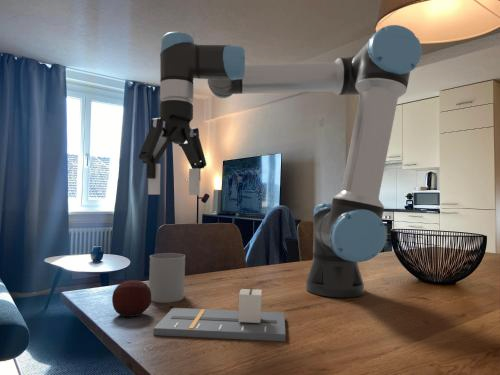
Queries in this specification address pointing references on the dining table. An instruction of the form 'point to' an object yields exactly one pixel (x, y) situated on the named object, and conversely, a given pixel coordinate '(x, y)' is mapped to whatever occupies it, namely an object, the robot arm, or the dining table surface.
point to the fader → (250, 305)
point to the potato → (131, 298)
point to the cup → (167, 277)
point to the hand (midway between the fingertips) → (175, 195)
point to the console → (220, 325)
